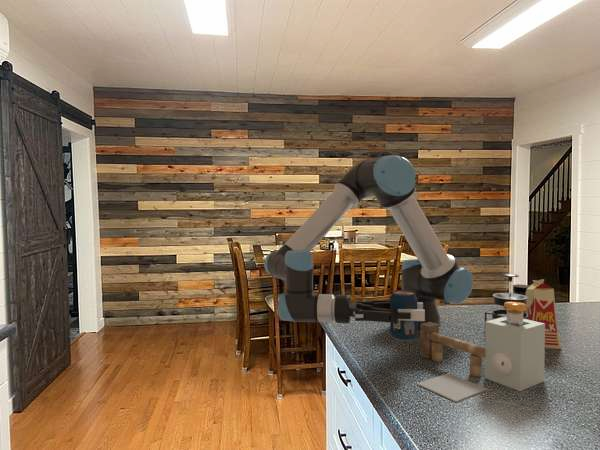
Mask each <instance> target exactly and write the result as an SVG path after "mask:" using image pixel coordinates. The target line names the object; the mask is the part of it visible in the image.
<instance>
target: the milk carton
mask: <svg viewBox="0 0 600 450" xmlns="http://www.w3.org/2000/svg"><path fill="white" fill-rule="evenodd" d="M532 282H533V283H532V284H530V285H529V286H530V287H529V288H527V290H526V295H525V296H527V297H528V300H526V301H525V303H524V304H526V311H523V312H524V313H526V314H528V320H532V321H536V322H540V323H545V349H557V350H558V349H560V350H561V349H563V348H562V344H561V338H560V333H559V327H558V319H557V311H556V301H555V289H554V288H553V287H551V286H549V285H548V284H545V283H544V282H545V279H543V278H541V279H539V280H533V279H532Z"/></svg>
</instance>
